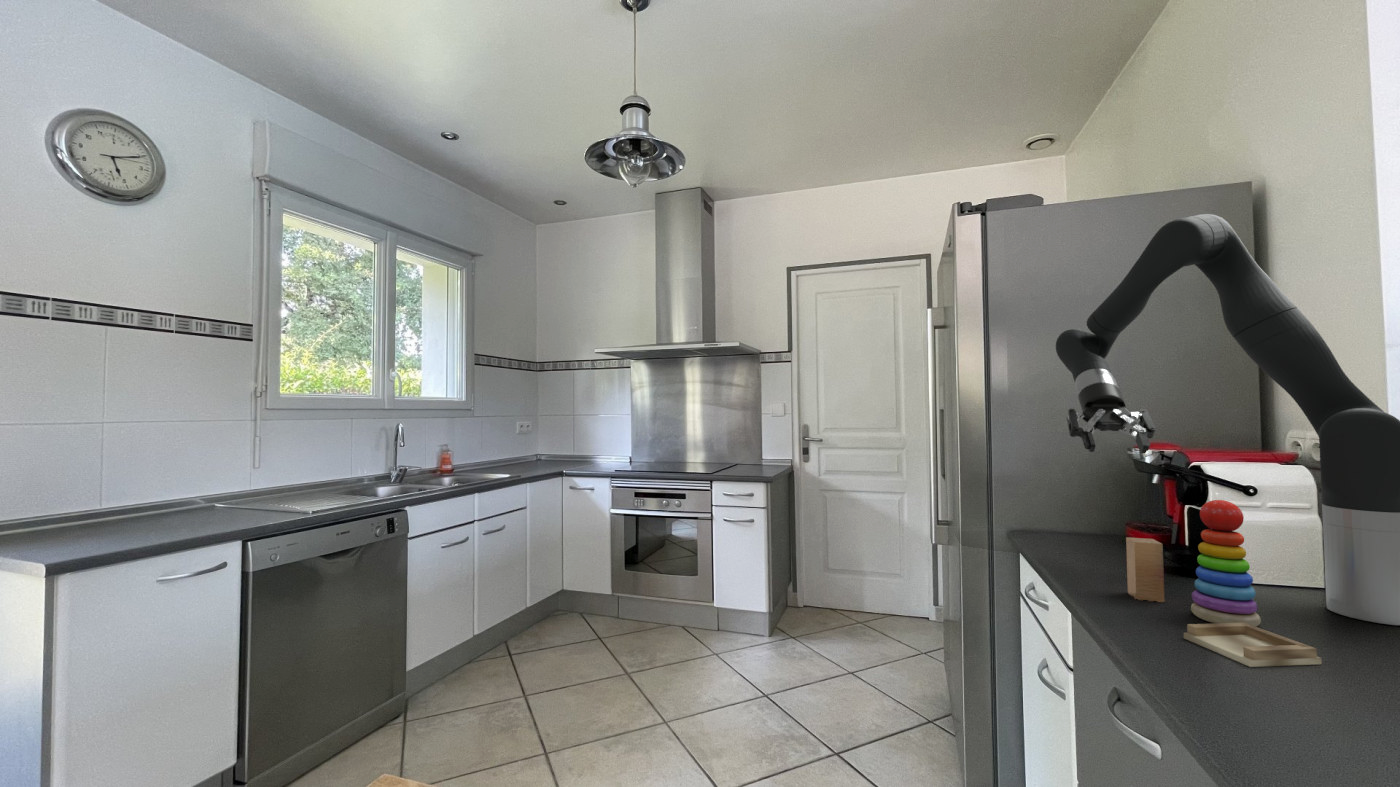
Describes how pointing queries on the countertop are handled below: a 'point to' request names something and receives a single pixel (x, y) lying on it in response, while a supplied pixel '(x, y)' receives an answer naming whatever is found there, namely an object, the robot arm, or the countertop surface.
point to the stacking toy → (1223, 569)
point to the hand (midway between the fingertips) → (1118, 450)
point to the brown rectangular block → (1145, 569)
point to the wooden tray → (1251, 645)
